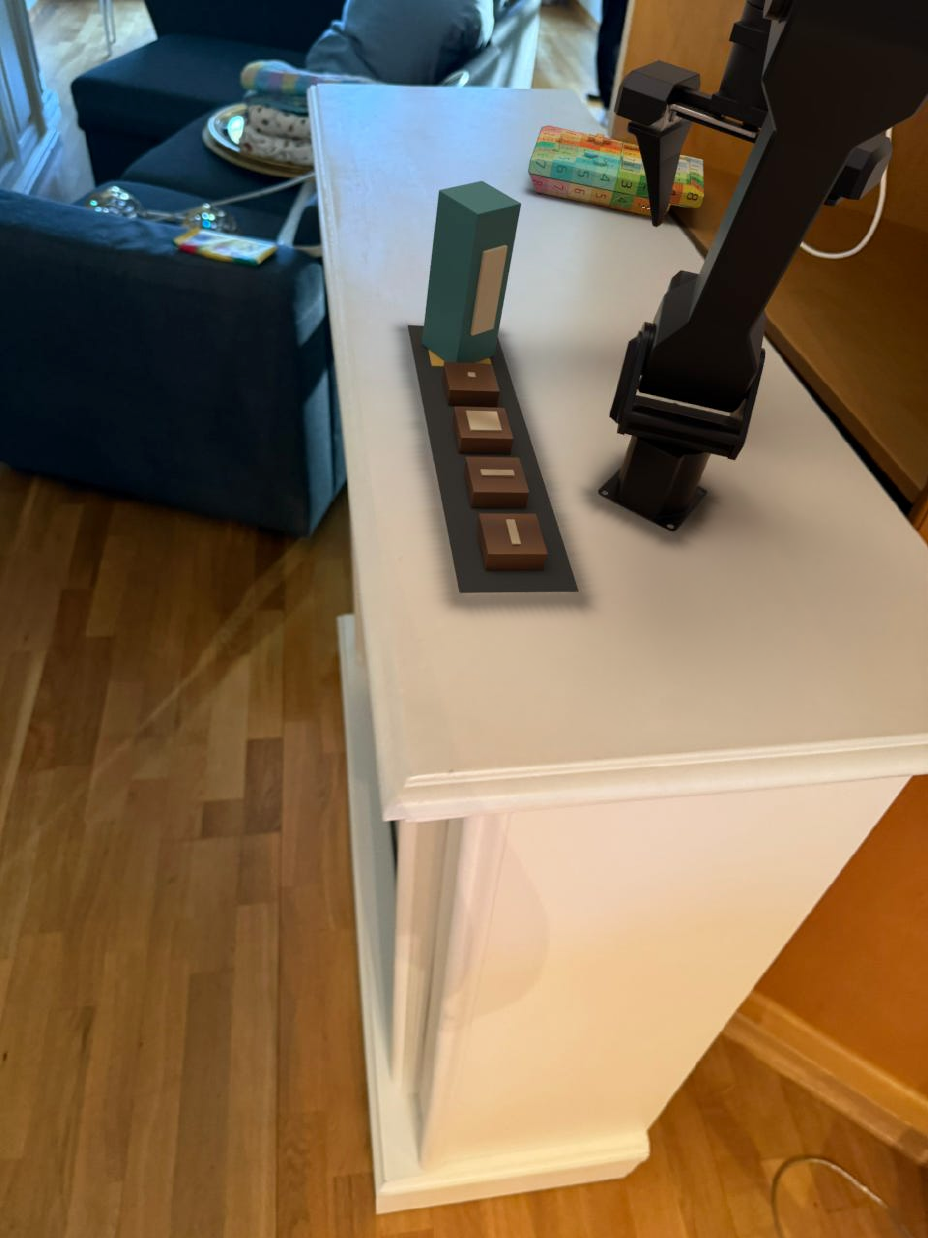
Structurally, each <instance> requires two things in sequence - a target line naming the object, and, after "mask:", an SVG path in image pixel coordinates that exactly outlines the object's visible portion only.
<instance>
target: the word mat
mask: <svg viewBox="0 0 928 1238" xmlns="http://www.w3.org/2000/svg"><path fill="white" fill-rule="evenodd" d="M423 329H424V325H419V324H418V325H416V324H407V331H408V335H409V340H410V341H409V342H410V345H411V350H412V355H413V361H414V367H415V371H416V376H417V377H416V378H417V382H418V386H419V392H420V397H421V403H422V406H423V407H422V408H423V412H424V413H423V414H424V417H425V423H426V428H427V432H428V437H429V444H430V448H431V453H432V454H431V455H432V459H433V464H434V468H435V473H436V479H437V485H438V489H439V494H440V499H441V505H442V511H443V515H444V520H445V521H444V522H445V525H446V531H447V536H448V540H449V545H450V550H451V556H452V561H453V566H454V571H455V577H456V581H457V586H458V592H459V593H460V594H472V593H473V594H476V593H478V594H479V593H480V594H481V593H485V594H487V593H490V594H491V593H578V592H579V588H578V585H577V581H576V579H575V575H574V572H573V569H572V565H571V562H570V560H569V557H568V553H567V550H566V546H565V543H564V541H563V537H562V535H561V531H560V528H559V525H558V522H557V519H556V515H555V512H554V509H553V506H552V503H551V499H550V496H549V493H548V490H547V488H546V487H547V486H546V485H545V484H546V483H545V481H544V478H543V475H542V472H541V468H540V465H539V462H538V458H537V455H536V453H535V450H534V447H533V443H532V440H531V436H530V434H529V430H528V428H527V424H526V421H525V418H524V415H523V412H522V409H521V405H520V402H519V399H518V396H517V392H516V390H515V387H514V383H513V380H512V377H511V374H510V371H509V367H508V364H507V362H506V359H505V355H504V352H503V348H502V346H501V342H500V339H499V336H498V337H497V343H496V349H495V354H494V356H492V357H489V358H486V359H483V360H481V361H478V362H475V363H484V364H492V367H493V371H494V374H495V377H496V381H497V384H498V387H499V391H500V392H499V398H498V403H497V407H487V408H504V409H505V412H506V415H507V419H508V422H509V425H510V429H511V432H512V435H513V444H512V448H511V453H510V454H469V453H459V451H458V447H457V442H456V438H455V433H454V429H453V425H452V418H453V411H454V407H455V406H453V405H448V403H447V398H446V394H445V390H444V385H443V381H442V372H443V364H444V362H445V361H444V360H442V359H441V358H440V357H438V356H437V355H435V354H434V353H433V352H431V351H430V350H429V349H427V348H426V347H425V346H423V345H422V338H423ZM456 407H484V406H456ZM466 457H509V458H519V459H520V463H521V466H522V469H523V473H524V476H525V480H526V483H527V486H528V490H529V496H528V500H527V504H526V508H472V507H471V504H470V500H469V496H468V491H467V487H466V482H465V478H464V474H463V471H464V465H465V459H466ZM480 513H486V514H536V516H537V519H538V523H539V526H540V529H541V533H542V536H543V540H544V543H545V546H546V550H547V553H548V555H547V558H546V562H545V565H544V569H543V570H485V567H484V562H483V558H482V554H481V549H480V545H479V540H478V536H477V531H476V527H477V522H478V517H479V514H480Z"/></svg>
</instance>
